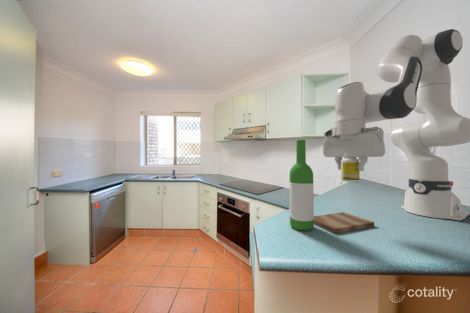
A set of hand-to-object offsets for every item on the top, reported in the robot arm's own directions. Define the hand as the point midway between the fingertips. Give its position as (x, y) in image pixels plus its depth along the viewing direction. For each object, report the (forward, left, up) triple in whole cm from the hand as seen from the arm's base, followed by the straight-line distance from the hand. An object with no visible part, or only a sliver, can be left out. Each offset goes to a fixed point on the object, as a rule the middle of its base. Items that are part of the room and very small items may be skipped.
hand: (350, 170), depth 62 cm
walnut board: (+1, -3, -19) cm, 20 cm away
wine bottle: (+16, -5, -20) cm, 26 cm away
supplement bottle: (0, 0, -4) cm, 4 cm away
